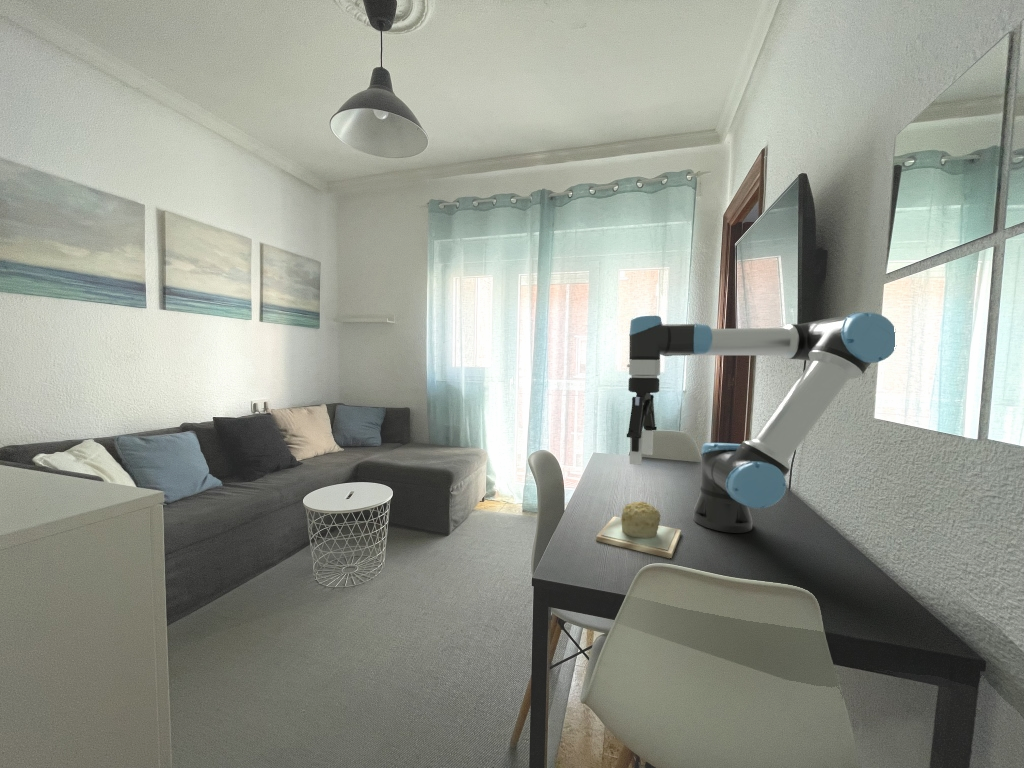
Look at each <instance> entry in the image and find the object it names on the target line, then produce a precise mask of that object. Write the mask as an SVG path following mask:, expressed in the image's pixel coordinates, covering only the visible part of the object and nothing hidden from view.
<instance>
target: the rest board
mask: <svg viewBox="0 0 1024 768" xmlns="http://www.w3.org/2000/svg"><path fill="white" fill-rule="evenodd" d="M621 518H622V517H620V516H619V517H618V516H613V517H612V518H611V519H610V520H609V521H608V522H607V523H606V525H605V526H604V527H603V528H602V529H601V530H600V531H599V532H598V533H597V535H596V537H595V541H596V542H599V543H603V544H608V545H612V546H617V547H620V548H624V549H629V550H634V551H637V552H643V553H645V554H650V555H654V556H659V557H662V558H667V559H670V558H671V559H672V557H673V556H674V552H675V550H676V548H677V546H678V542H679V540H680V537H681V535H682V529H678V528H674V527H669V526H663V525H659V526H658V530H657V534H656V536H654V537H652V538H638V537H632V536H629V535H627V534H625V533H623V532H622V521H621Z"/></svg>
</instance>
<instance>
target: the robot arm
mask: <svg viewBox="0 0 1024 768" xmlns="http://www.w3.org/2000/svg"><path fill="white" fill-rule="evenodd" d="M894 327H895V326H894V324H893V323H892V321H891V320H889V318H887V317H886V316H884V315H881V314H880V313H875V312H867V311H866V312H853V313H851V314H848V315H842V316H837V317H830V318H824V319H819V320H814V321H810V322H804V323H797V324H796V323H795V324H786V325H784V326H783V327H781V328H780V327H777V328H775V327H773V328H771V327H768V328H765V327H763V328H761V327H760V328H756V327H755V328H753V327H752V328H750V327H749V328H711V327H710V326H709V325H708V324H699V323H693V324H692V323H691V324H689V323H688V324H685V323H684V324H683V323H681V324H679V323H678V324H677V323H676V324H675V323H674V324H665V323H662V318H661V316H660V315H652V314H650V315H649V314H648V315H647V314H644V315H643V314H642V315H636V316H634V317H633V318H632V319H631V320H630V328H629V352H628V353H629V358H628V359H629V362H628V363H627V364H626V367H627V368H628V375H629V376H630V377H629V378H628V392H629V393H636V394H635V396H632V398H631V410H630V415H629V416H630V418H629V423H628V431H627V433H626V438H629V439H630V440H629V465H634V466H642V464H643V462H642V461H643V455H648V456H649V455H650V456H653V454H654V431H657V426H656V418H655V417H656V416H655V406H654V405H655V403H654V398H655V396H654V394H656V393H659V392H660V379H659V376H660V375H661V356H664V357H672V356H680V357H681V356H682V357H683V356H780V357H781V358H782V359H784V360H801V361H802V360H803V361H809V364H808V365H807V366H806V368H805V369H804V370H803V372H802V373H801V374H800V375H799V377H798V378H797V380H796V381H795V382H794V383H793V385H792V387H791V388H790V389H789V390H788V392H787V393H786V394H785V396H783V398H782V400H781V401H780V402H779V404H778V405H777V407H776V408H775V410H774V411H773V412H772V413H771V415H770V416H769V417H768V419H767V420H766V421H765V423H764V424H763V425H762V427H761V428H760V430H759V431H758V432H757V433H756V435H755V436H754V438H753V439H750V440H743V441H742V442H741V443H730V442H728V443H727V442H706V443H703V444H702V447H701V453H700V456H701V457H700V458H701V460H700V463H701V464H700V491H699V496H698V498H697V500H696V503H695V505H694V508H693V512H692V519H693V521H694V522H695V523H696V524H698V525H700V526H701V527H704V528H706V529H710V530H714V531H719V532H724V533H732V534H734V533H735V534H742V533H743V534H744V533H748V532H750V531H752V530H753V518H752V515H751V514H752V513H751V510H750V508H751V509H765V508H769V507H771V506H774V505H775V504H777V503H778V502H780V500H781V499H782V498H783V497H784V496H785V494H786V490H787V485H786V476H787V474H788V473H789V472H790V470H791V467H790V464H789V459H790V458H791V456H792V455H793V454H794V453H795V451H796V450H797V449H798V447H799V446H800V445H801V444H802V442H803V440H805V438H806V437H807V436H808V434H809V433H810V432H811V430H812V429H813V427H814V426H815V425H816V424H817V423H818V421H819V420H820V418H821V417H822V416H823V415H824V413H825V412H826V410H827V409H828V407H829V406H830V405H831V404H832V402H833V401H834V400H835V399H836V398H837V396H838V394H840V392H841V391H842V389H843V388H844V386H845V385H846V384H847V382H849V380H853V379H858V378H861V377H862V376H863V374H864V373H866V371H867V369H868V368H869V367H870V365H871V364H873V363H880V362H882V361H884V360H886V359H887V358H889V357H890V356H891V355H892V354H893V353H894V352H895V350H894V347H895V333H896V331H895V332H894Z"/></svg>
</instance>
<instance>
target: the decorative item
mask: <svg viewBox="0 0 1024 768" xmlns="http://www.w3.org/2000/svg"><path fill="white" fill-rule="evenodd" d="M620 518H621V521H622V532H623V533H625V534H627V535H629V536H632V537H638V538H652V537H654V536H656V534H657V530H658V526H660V522H661V514H660V511H659V510H658V509H657V508H656V507H655V506H653V505H652V504H650V503H648V502H644V501H637V502H636V501H633V502H631V503H627V504H625V506H624V508H623V509H622V514H621V517H620Z"/></svg>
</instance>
